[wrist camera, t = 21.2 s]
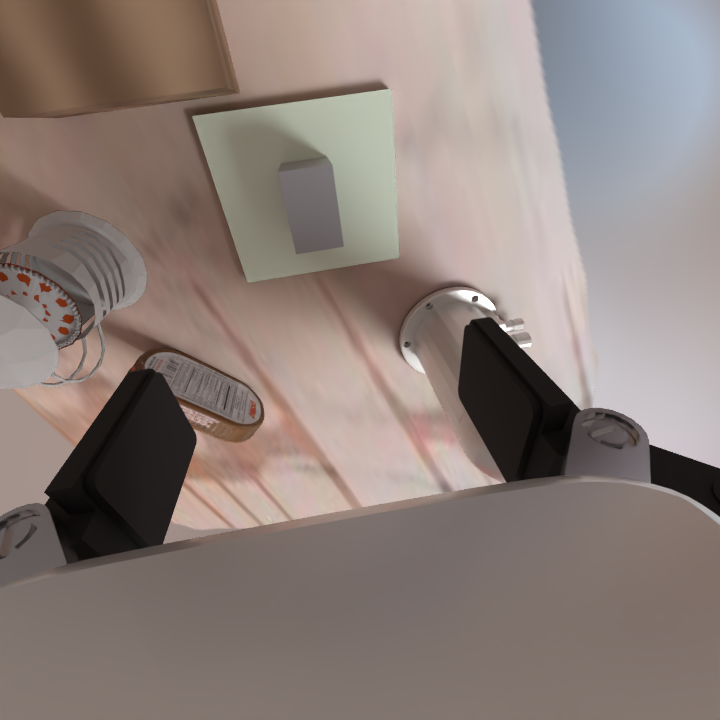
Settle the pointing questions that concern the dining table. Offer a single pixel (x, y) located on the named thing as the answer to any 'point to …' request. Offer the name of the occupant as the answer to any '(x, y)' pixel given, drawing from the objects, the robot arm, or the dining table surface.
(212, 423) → the tin
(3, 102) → the housing
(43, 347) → the french press
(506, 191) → the dining table surface
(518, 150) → the dining table surface
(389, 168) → the cover
